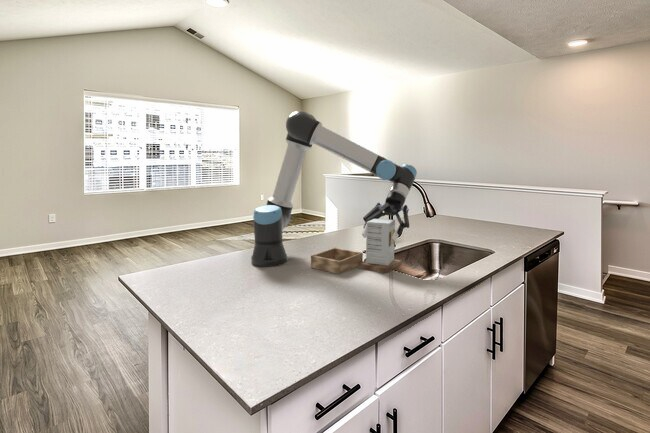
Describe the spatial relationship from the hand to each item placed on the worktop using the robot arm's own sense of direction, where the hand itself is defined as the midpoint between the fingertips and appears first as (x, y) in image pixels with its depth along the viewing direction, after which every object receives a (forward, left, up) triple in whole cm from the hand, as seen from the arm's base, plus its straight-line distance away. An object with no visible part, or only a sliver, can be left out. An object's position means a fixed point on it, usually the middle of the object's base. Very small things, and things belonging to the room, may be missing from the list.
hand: (378, 238), depth 150 cm
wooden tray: (-14, -8, -12) cm, 20 cm away
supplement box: (0, +3, -10) cm, 11 cm away
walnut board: (0, +2, -12) cm, 12 cm away
